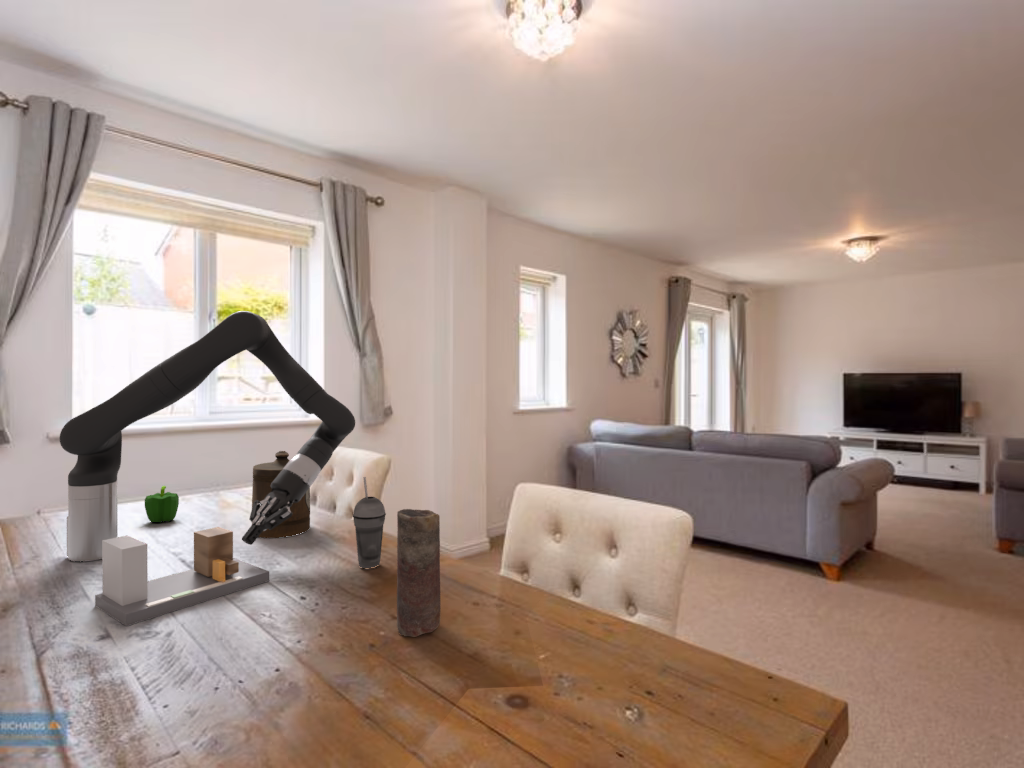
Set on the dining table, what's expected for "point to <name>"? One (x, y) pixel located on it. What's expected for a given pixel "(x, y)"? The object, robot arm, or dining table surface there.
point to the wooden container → (262, 488)
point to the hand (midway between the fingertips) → (246, 542)
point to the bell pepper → (161, 506)
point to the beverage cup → (369, 529)
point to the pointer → (219, 570)
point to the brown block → (214, 550)
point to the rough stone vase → (418, 572)
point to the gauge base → (158, 583)
